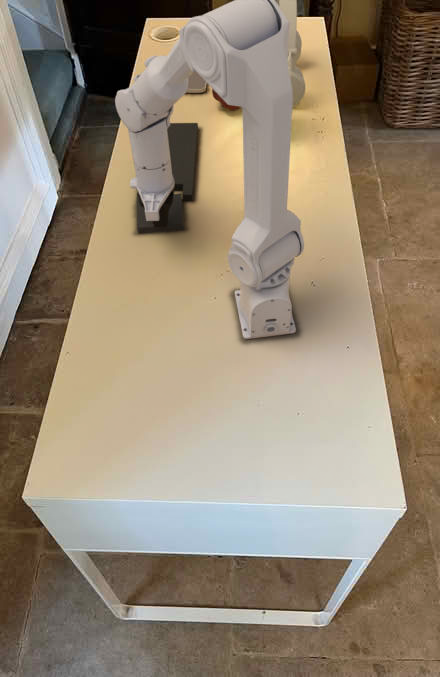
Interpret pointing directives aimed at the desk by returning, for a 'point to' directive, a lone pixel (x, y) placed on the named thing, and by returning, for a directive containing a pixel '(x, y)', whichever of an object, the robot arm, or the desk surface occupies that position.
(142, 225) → the charcoal pad
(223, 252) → the desk surface
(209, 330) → the desk surface
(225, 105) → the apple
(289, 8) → the headphones
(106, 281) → the desk surface
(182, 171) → the black pad
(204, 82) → the smartphone
